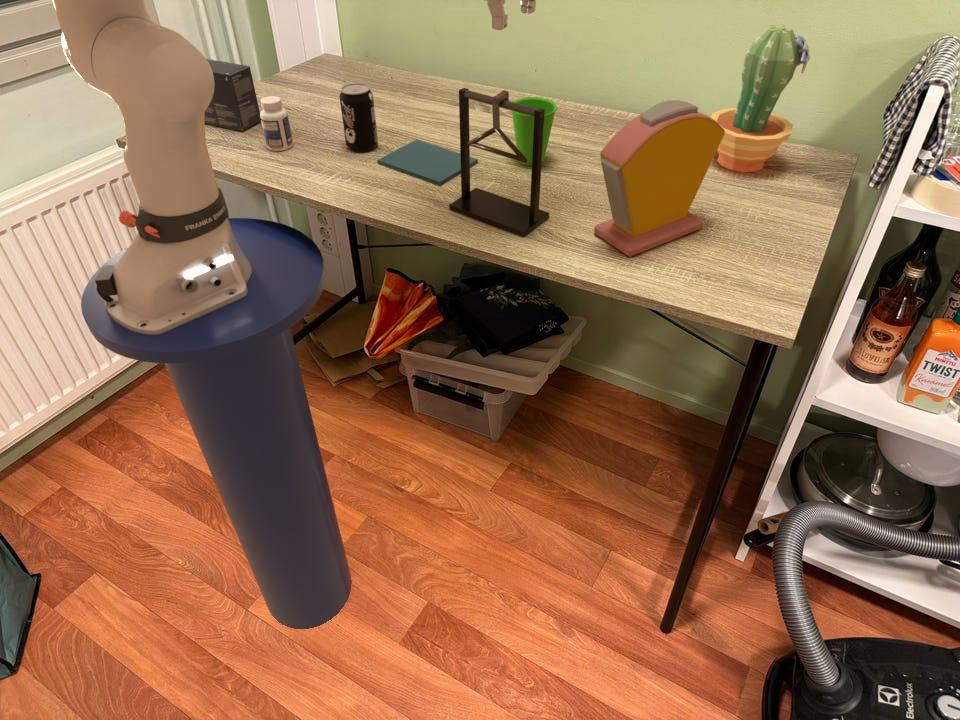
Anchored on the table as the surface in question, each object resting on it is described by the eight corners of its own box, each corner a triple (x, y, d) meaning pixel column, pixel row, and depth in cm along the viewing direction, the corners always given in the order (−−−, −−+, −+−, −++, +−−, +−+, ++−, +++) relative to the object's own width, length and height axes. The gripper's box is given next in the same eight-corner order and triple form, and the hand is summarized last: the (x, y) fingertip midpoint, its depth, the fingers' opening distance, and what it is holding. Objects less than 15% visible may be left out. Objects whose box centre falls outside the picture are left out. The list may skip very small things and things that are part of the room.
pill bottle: (285, 138, 144) (275, 92, 138) (298, 146, 141) (289, 99, 135) (262, 146, 142) (251, 99, 135) (275, 154, 139) (265, 106, 132)
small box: (263, 121, 151) (251, 65, 143) (243, 132, 147) (229, 75, 139) (217, 111, 156) (203, 56, 148) (196, 122, 151) (180, 66, 143)
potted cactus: (765, 187, 127) (807, 46, 110) (687, 165, 134) (716, 29, 117) (792, 158, 136) (835, 24, 119) (718, 138, 143) (749, 9, 126)
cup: (534, 175, 131) (537, 119, 124) (499, 161, 136) (500, 106, 128) (562, 160, 136) (567, 105, 129) (527, 147, 140) (530, 93, 133)
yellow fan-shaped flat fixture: (675, 202, 123) (700, 81, 108) (714, 225, 117) (746, 99, 102) (580, 238, 114) (593, 110, 99) (616, 264, 108) (636, 132, 94)
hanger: (525, 164, 109) (525, 106, 102) (467, 145, 114) (463, 90, 108) (536, 155, 111) (537, 98, 104) (479, 137, 116) (476, 82, 110)
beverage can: (340, 148, 140) (331, 89, 133) (361, 137, 145) (354, 79, 137) (363, 156, 138) (356, 96, 130) (385, 144, 142) (378, 86, 134)
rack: (523, 237, 114) (528, 119, 101) (449, 209, 121) (444, 96, 108) (549, 218, 119) (557, 102, 105) (476, 192, 126) (475, 81, 113)
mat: (440, 185, 128) (439, 182, 127) (377, 163, 135) (377, 159, 135) (478, 162, 135) (478, 159, 135) (416, 142, 142) (416, 139, 142)
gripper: (529, -103, 99) (525, 1, 108) (460, -82, 86) (462, 35, 95) (569, -100, 97) (561, 6, 106) (504, -77, 84) (502, 42, 93)
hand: (514, 20), depth 101 cm, fingers open, 8 cm apart
